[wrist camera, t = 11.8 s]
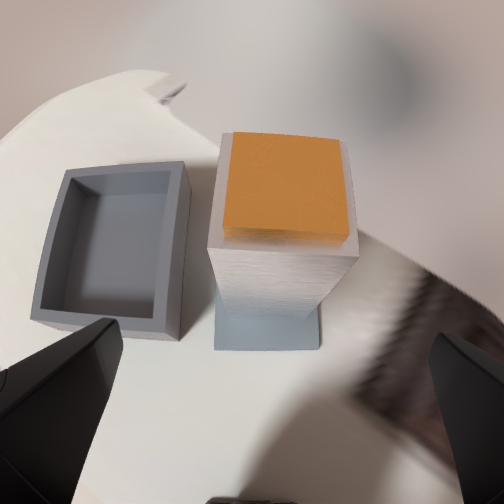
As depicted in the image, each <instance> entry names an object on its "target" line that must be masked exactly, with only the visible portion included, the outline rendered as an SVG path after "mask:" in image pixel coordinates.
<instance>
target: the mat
mask: <svg viewBox="0 0 504 504" xmlns="http://www.w3.org/2000/svg"><path fill="white" fill-rule="evenodd" d="M318 349H319V327H318V305H317V307H316V308H315V309H314V310H313V311H312V312H311V313H310V314H309V315H308V316H307V318H306V319H305V320H304V321H303V322H286V321H264V320H245V319H230V318H228V316H227V312H226V309H225V306H224V303H223V300H222V296H221V293H220V290H219V287H218V284H217V280H216V306H215V339H214V350H234V351H285V350H318Z"/></svg>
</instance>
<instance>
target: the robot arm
mask: <svg viewBox="0 0 504 504" xmlns="http://www.w3.org/2000/svg"><path fill="white" fill-rule="evenodd" d="M122 351H123V340H122V335H121V331H120V326H119V322H118V320H116V319H114V318H107V317H103V318H101V319H99V320H97V321H95V322H93V323H91V324H90V325H88V326H86V327H84V328H82V329H80V330H78V331H76V332H74V333H72V334H71V335H69V336H67V337H65V338H63V339H61V340H59V341H57V342H55V343H53V344H52V345H50V346H48V347H46V348H44V349H42V350H40V351H38V352H36V353H35V354H33V355H31V356H29V357H27V358H25V359H23V360H21V361H20V362H18V363H16V364H14V365H12V366H10V367H9V368H8V369H4V370H3V371H1V372H0V504H71V502H72V499H73V496H74V493H75V490H76V487H77V484H78V481H79V478H80V475H81V472H82V469H83V466H84V463H85V460H86V457H87V455H88V452H89V449H90V446H91V443H92V441H93V438H94V435H95V433H96V430H97V427H98V425H99V422H100V420H101V417H102V414H103V412H104V409H105V407H106V404H107V402H108V399H109V396H110V393H111V390H112V387H113V383H114V379H115V376H116V372H117V369H118V365H119V362H120V358H121V355H122ZM427 362H428V366H429V370H430V374H431V379H432V383H433V387H434V392H435V396H436V400H437V404H438V407H439V411H440V414H441V417H442V420H443V423H444V427H445V430H446V433H447V437H448V440H449V444H450V447H451V451H452V455H453V458H454V462H455V466H456V470H457V474H458V478H459V482H460V487H461V491H462V496H463V501H464V504H504V363H503V362H501V361H499V360H498V359H496V358H494V357H493V356H491V355H489V354H488V353H486V352H484V351H483V350H481V349H479V348H477V347H476V346H474V345H472V344H471V343H469V342H467V341H465V340H464V339H462V338H460V337H458V336H457V335H455V334H453V333H451V332H448V331H447V332H439V333H437V334H436V336H435V338H434V340H433V343H432V345H431V348H430V350H429V352H428V356H427ZM206 504H297V503H293V502H290V503H271V502H270V501H233V502H231V503H214V502H208V503H206Z"/></svg>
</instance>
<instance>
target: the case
mask: <svg viewBox="0 0 504 504" xmlns="http://www.w3.org/2000/svg"><path fill="white" fill-rule="evenodd" d="M190 200H191V188H190V184H189V180H188V177H187V173H186V169H185V165H184V161H177V162H155V163H138V164H124V165H111V166H100V167H89V168H80V169H71V170H66V172H65V175H64V178H63V181H62V184H61V187H60V190H59V193H58V196H57V199H56V202H55V206H54V209H53V212H52V216H51V219H50V223H49V227H48V231H47V234H46V238H45V242H44V246H43V251H42V255H41V260H40V264H39V269H38V274H37V279H36V285H35V290H34V296H33V302H32V309H31V316H30V319H31V320H34V321H36V322H39V323H42V324H44V325H47V326H50V327H52V328H55V329H58V330H63V331H71V332H76V331H78V330H80V329H82V328H84V327H86V326H88V325H90V324H91V323H93V322H95V321H97V320H99V319H101V318H103V317H107V318H114V319H116V320H118V322H119V326H120V331H121V335H122V337H125V338H137V339H150V340H165V341H179V335H180V317H181V300H182V286H183V273H184V260H185V249H186V238H187V228H188V218H189V209H190Z"/></svg>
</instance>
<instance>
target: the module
mask: <svg viewBox="0 0 504 504" xmlns="http://www.w3.org/2000/svg"><path fill="white" fill-rule="evenodd" d="M356 221H357V220H356V212H355V202H354V193H353V185H352V178H351V170H350V163H349V157H348V150H347V144H346V142H341V141H339V140H335V139H326V138H316V137H306V136H294V135H281V134H265V133H245V132H234V133H223V134H222V141H221V147H220V154H219V161H218V168H217V174H216V182H215V189H214V196H213V203H212V211H211V219H210V227H209V235H208V243H207V250H208V254H209V257H210V260H211V264H212V267H213V270H214V274H215V277H216V280H217V284H218V287H219V290H220V293H221V296H222V300H223V303H224V306H225V309H226V312H227V316H228V318H230V319H245V320H264V321H286V322H303V321H304V320H305V319H306V318H307V316H308V315H309V314H310V313H311V312H312V311H313V310H314V309H315V308H316V307H317V305H318V304H319V303H320V302H321V301H322V300H323V299H324V298H325V296H326V295H327V294H328V293H329V292H330V291H331V290H332V289H333V287H334V286H335V285H336V284H337V283H338V282H339V280H340V279H341V278H342V277H343V276H344V275H345V273H346V272H347V271H348V270H349V269H350V268H351V266H352V265H353V264H354V263H355V262H356V260H357V259H358V258H359V257H360V255H359V242H358V231H357V222H356Z"/></svg>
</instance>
